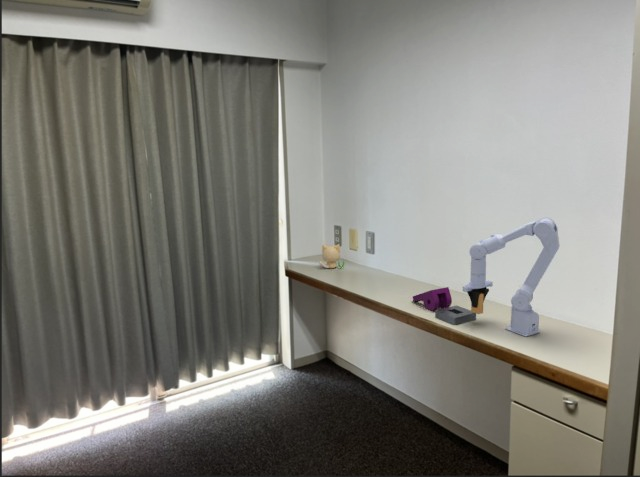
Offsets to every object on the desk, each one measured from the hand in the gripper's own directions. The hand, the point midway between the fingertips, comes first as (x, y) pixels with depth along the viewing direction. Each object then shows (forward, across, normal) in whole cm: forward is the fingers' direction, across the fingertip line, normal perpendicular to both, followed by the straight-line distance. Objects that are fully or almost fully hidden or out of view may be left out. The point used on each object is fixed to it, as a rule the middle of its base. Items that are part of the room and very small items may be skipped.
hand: (477, 306), depth 187 cm
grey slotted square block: (+7, +3, -9) cm, 12 cm away
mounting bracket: (+7, 0, -28) cm, 29 cm away
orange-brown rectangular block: (+2, 0, 0) cm, 2 cm away
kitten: (+6, +1, -114) cm, 114 cm away
